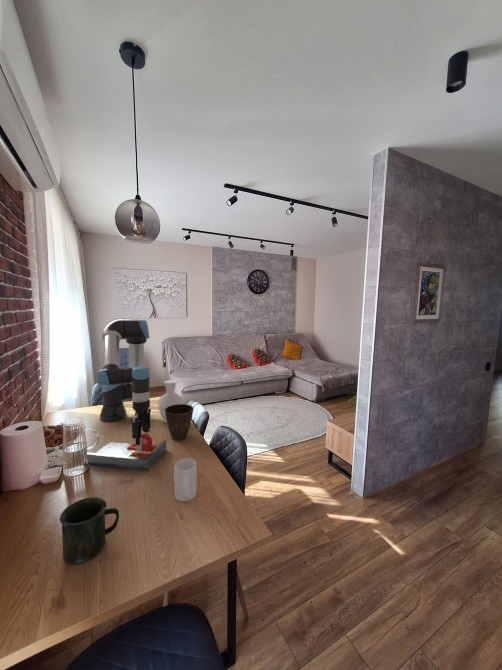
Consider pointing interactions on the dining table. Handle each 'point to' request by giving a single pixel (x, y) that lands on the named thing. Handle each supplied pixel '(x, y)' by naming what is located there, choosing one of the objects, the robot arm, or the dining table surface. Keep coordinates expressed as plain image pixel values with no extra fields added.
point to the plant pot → (179, 420)
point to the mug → (85, 529)
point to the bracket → (145, 447)
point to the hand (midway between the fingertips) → (142, 447)
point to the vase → (168, 398)
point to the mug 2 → (185, 479)
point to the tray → (125, 457)
